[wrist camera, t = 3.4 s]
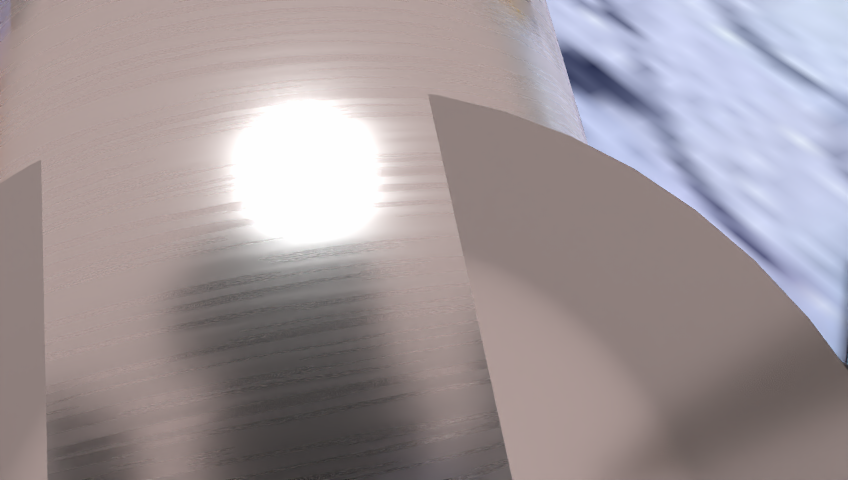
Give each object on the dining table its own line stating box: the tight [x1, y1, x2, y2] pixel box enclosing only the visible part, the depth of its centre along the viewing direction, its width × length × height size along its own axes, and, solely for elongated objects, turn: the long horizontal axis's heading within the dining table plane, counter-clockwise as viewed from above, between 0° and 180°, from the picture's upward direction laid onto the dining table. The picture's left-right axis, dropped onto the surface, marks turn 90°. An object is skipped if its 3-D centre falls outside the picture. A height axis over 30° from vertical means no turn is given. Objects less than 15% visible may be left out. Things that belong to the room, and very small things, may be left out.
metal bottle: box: [0, 0, 848, 480], centre depth 9 cm, size 8×5×13 cm, turn 11°
